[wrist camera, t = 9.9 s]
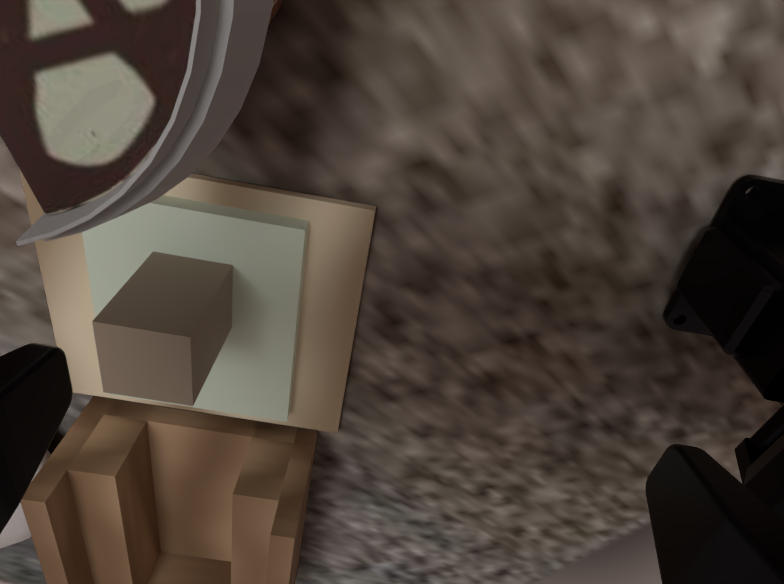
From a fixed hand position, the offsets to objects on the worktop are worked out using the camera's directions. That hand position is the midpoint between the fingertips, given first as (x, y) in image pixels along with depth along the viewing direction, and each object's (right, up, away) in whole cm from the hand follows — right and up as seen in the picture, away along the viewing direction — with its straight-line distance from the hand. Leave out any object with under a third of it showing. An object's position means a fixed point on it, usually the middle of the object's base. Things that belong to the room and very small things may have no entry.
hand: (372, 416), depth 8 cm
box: (-10, -9, +22) cm, 26 cm away
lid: (-8, +1, +15) cm, 17 cm away
